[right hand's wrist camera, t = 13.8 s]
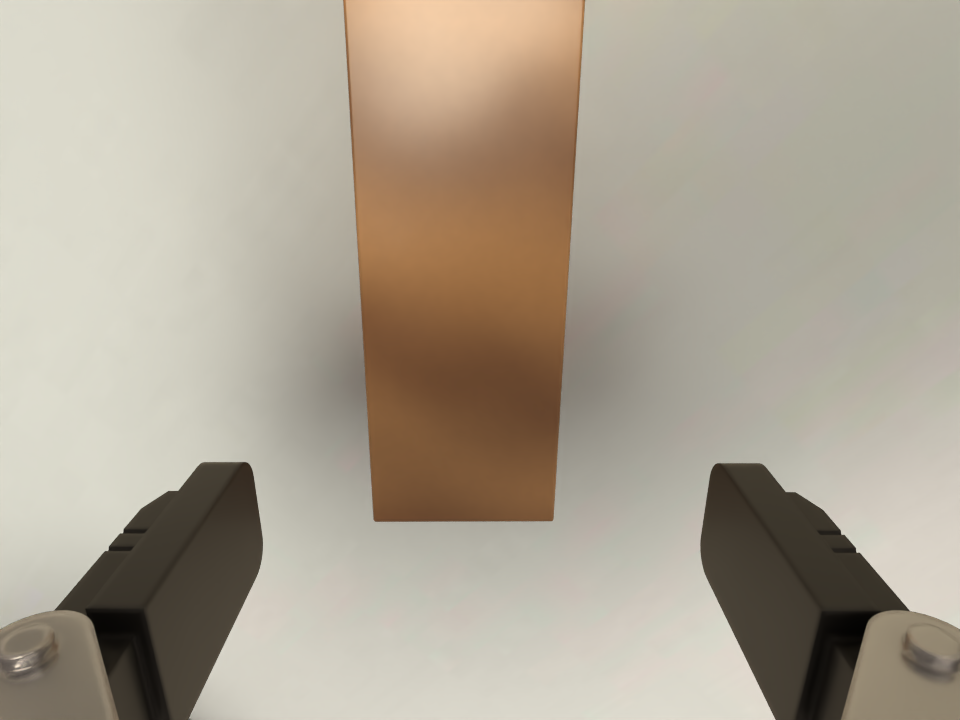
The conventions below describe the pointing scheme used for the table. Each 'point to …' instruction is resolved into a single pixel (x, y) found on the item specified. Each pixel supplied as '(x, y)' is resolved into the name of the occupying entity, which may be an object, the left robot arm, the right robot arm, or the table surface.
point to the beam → (463, 247)
